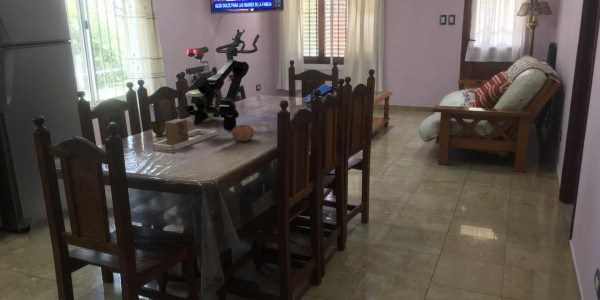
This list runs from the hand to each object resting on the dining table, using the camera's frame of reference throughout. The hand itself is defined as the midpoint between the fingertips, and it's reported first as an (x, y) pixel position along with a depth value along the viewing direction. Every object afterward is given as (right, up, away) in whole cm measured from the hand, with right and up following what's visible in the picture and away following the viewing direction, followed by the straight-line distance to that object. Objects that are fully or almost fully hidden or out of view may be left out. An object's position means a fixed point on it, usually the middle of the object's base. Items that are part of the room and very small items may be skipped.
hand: (195, 125), depth 232 cm
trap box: (-3, -9, -4) cm, 11 cm away
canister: (-6, +5, +50) cm, 51 cm away
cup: (-22, -5, +13) cm, 26 cm away
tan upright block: (-6, -9, -10) cm, 15 cm away
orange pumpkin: (+24, -8, -1) cm, 25 cm away
